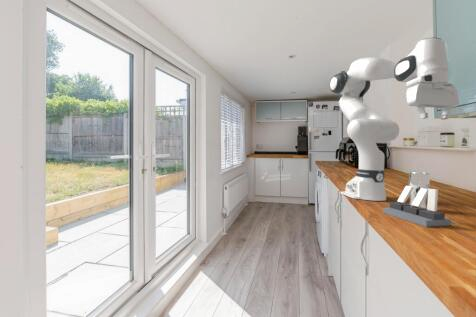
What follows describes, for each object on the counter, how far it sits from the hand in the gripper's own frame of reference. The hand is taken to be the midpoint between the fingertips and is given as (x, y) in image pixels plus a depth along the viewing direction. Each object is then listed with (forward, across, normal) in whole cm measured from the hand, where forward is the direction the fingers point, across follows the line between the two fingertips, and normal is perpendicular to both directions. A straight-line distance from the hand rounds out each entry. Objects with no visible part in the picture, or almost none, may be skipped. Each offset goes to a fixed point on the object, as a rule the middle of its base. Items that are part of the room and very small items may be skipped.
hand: (434, 118), depth 91 cm
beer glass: (+35, -5, -13) cm, 37 cm away
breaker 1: (+31, +10, -7) cm, 33 cm away
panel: (+36, +10, -1) cm, 37 cm away
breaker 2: (+32, +10, -1) cm, 33 cm away
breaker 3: (+32, +10, +5) cm, 34 cm away
